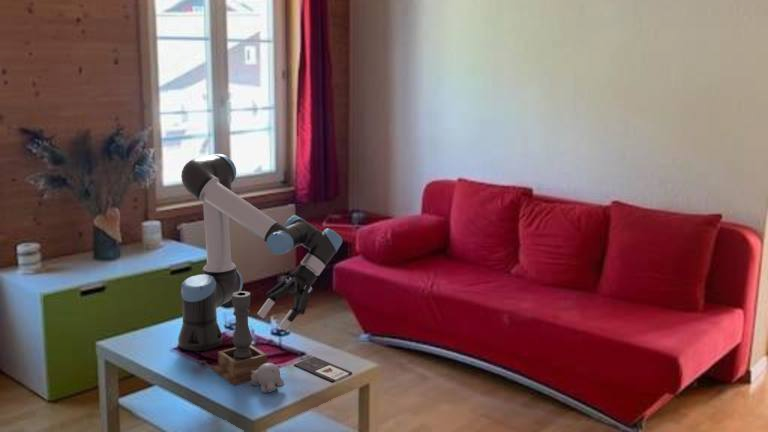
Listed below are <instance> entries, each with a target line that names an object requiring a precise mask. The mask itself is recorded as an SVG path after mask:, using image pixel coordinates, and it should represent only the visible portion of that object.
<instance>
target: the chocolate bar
mask: <svg viewBox="0 0 768 432" xmlns="http://www.w3.org/2000/svg"><path fill="white" fill-rule="evenodd" d="M293 366H294V367H296V368H298V369H300V370H303V371H304V372H307V373H310V374H312V375H314V376H317V377H318V378H321V379H323V380H326V381H327V382H330V383H334V382H337V381H338V380H341V379H343V378H345V377H348V376H351V375H352V374H353V372H352V371H351V370H347V369H346V368H344V367H340V366H338V365H336V364H333V363H330V362H329V361H326V360H324V359H321V358H318V357H316V356H314V355H313V356H311V357H308V358H306V359H303V360H301V361H299V362H297V363H294V364H293Z"/></svg>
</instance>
